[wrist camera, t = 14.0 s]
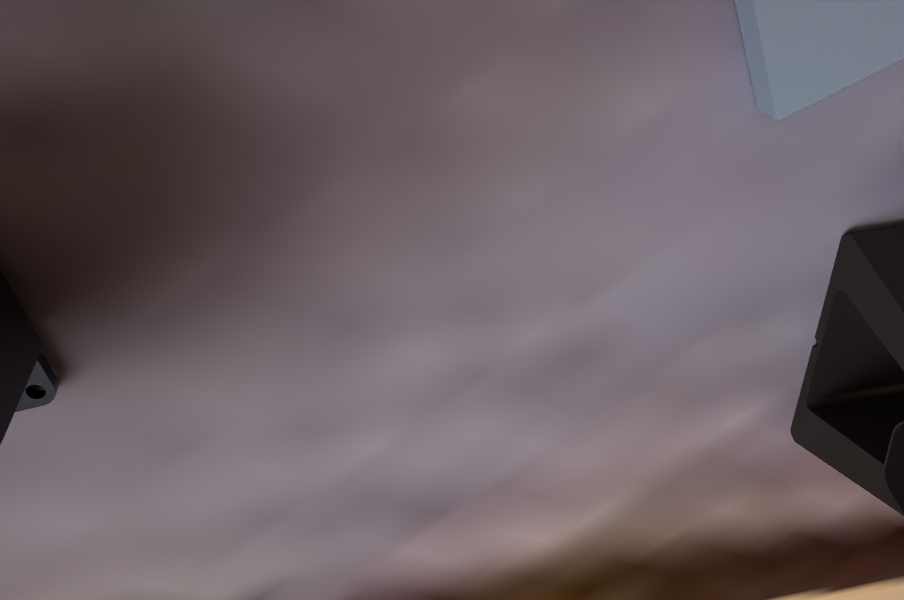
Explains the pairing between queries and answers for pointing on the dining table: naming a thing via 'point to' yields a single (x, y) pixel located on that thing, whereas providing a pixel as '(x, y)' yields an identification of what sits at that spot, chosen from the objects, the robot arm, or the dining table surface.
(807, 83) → the coupler cradle
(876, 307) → the door stopper
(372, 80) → the dining table surface
